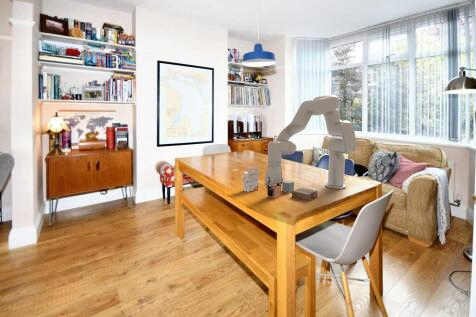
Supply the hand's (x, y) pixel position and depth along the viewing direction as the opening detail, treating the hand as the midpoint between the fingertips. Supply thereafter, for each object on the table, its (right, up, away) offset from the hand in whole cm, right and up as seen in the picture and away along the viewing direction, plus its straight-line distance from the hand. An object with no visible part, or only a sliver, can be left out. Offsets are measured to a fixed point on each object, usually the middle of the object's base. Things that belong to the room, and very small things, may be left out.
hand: (274, 194), depth 144 cm
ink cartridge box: (-13, 0, +13) cm, 18 cm away
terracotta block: (0, -1, 0) cm, 1 cm away
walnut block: (+17, -2, -1) cm, 17 cm away
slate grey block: (+10, 0, +10) cm, 14 cm away
